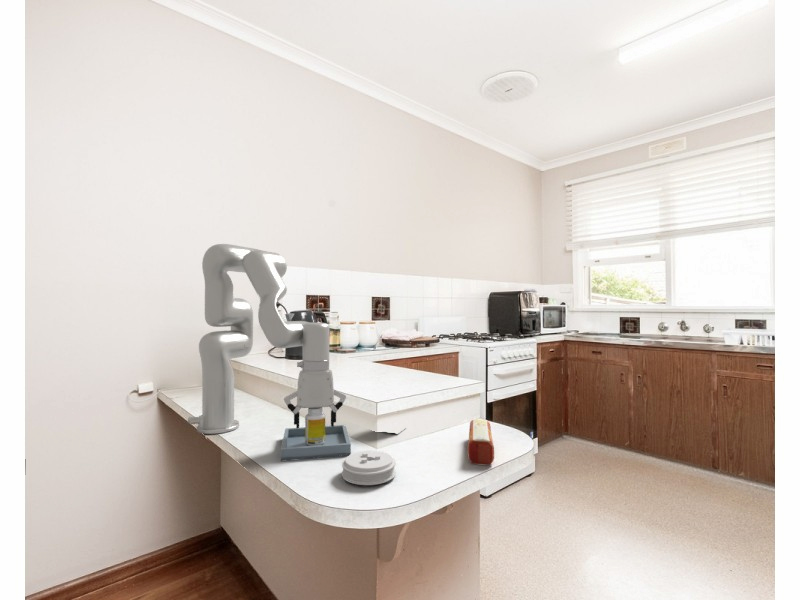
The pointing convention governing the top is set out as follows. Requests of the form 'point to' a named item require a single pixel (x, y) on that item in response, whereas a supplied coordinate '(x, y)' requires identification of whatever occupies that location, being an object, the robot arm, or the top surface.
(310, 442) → the supplement bottle
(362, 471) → the lid
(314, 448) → the tray
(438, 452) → the top surface
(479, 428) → the snack package
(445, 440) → the top surface
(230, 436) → the top surface
